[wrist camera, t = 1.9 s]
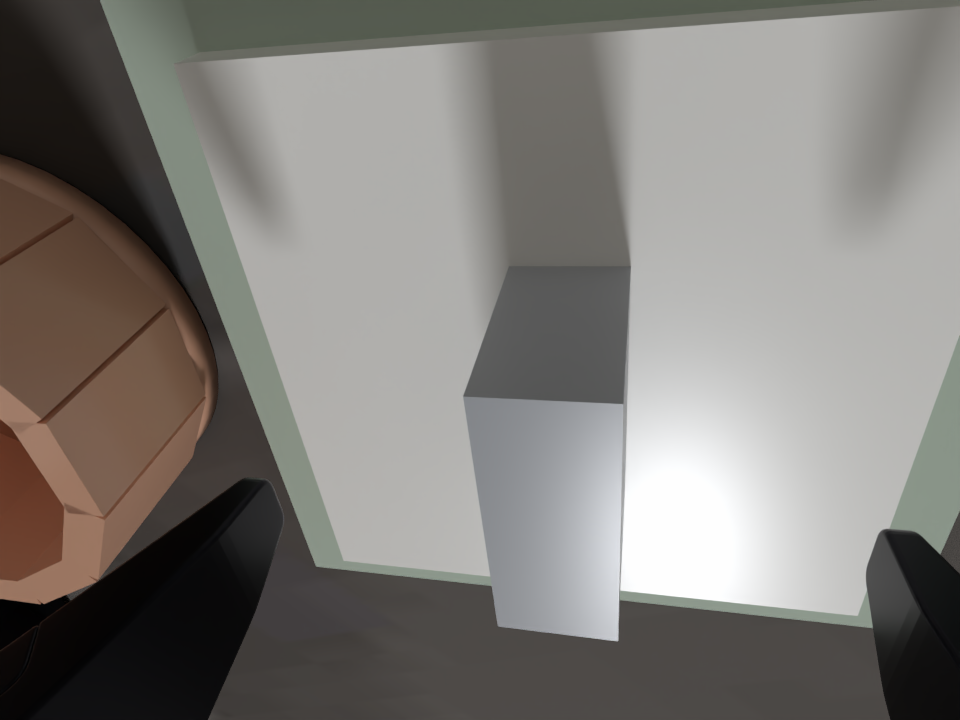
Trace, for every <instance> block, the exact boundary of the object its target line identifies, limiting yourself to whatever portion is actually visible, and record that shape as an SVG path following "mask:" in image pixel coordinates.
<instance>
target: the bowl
mask: <svg viewBox="0 0 960 720" xmlns="http://www.w3.org/2000/svg"><path fill="white" fill-rule="evenodd" d="M217 397H218V372H217V367H216V362H215V356H214V352H213V349H212V346H211V343H210V340H209V337H208V334H207V332H206V330H205V328H204V325H203V323H202V321H201V319H200V317H199V315H198V313H197V311H196V309H195V307H194V306H193V304H192V302H191V301H190V299H189V298H188V296H187V294H186V293H185V291H184V289H183V288H182V287H181V285H180V284H179V283H178V281H177V280H176V279H175V277H174V276H173V275H172V273H171V272H170V270H169V269H168V268H167V266H166V265H165V264H164V263H163V262H162V261H161V260H160V259H159V258H158V256H157V255H156V254H155V253H154V252H153V251H152V250H151V249H150V247H149V246H148V245H147V244H146V243H145V242H144V241H143V240H142V239H140V238H139V237H138V236H137V235H136V234H135V233H134V232H133V231H132V230H131V229H130V228H129V227H128V226H127V225H126V224H125V223H123V222H122V221H121V220H120V219H118V218H117V217H116V216H114V215H113V214H112V213H111V212H109V211H108V210H107V209H106V208H104V207H103V206H102V205H101V204H99V203H98V202H96V201H95V200H93V199H92V198H90V197H89V196H87V195H86V194H84V193H83V192H81V191H80V190H78V189H77V188H75V187H74V186H72V185H70V184H68V183H66V182H64V181H63V180H61V179H59V178H57V177H55V176H53V175H52V174H50V173H48V172H46V171H44V170H41V169H39V168H37V167H34V166H32V165H29V164H27V163H25V162H22V161H20V160H17V159H14V158H11V157H7V156H4V155H1V154H0V599H6V600H13V601H20V602H28V603H35V604H41V603H43V604H45V603H48V602H50V601H52V600H55V599H57V598H60V597H62V596H64V595H67V594H69V593H71V592H74V591H76V590H79V589H81V588H83V587H86V586H88V585H90V584H93V583H95V582H97V581H98V580H99V578H100V577H101V576H102V574H103V573H104V572H105V570H106V569H107V568H108V567H109V565H110V564H111V563H112V561H113V560H114V559H115V557H116V556H117V555H118V554H119V552H120V551H121V550H122V548H123V547H124V546H125V544H126V543H127V542H128V540H129V539H130V538H131V537H132V535H133V534H134V533H135V531H136V530H137V529H138V527H139V526H140V525H141V524H142V522H143V521H144V520H145V518H146V517H147V516H148V514H149V513H150V512H151V511H152V509H153V508H154V507H155V505H156V504H157V503H158V501H159V500H160V499H161V497H162V496H163V495H164V494H165V492H166V491H167V490H168V488H169V487H170V486H171V484H172V483H173V482H174V481H175V479H176V478H177V477H178V475H179V474H180V473H181V471H182V470H183V469H184V467H185V466H186V465H187V464H188V462H189V461H190V460H191V458H192V457H193V453H194V449H195V444H196V442H197V441H198V440H199V438H200V437H201V436H202V435H203V433H204V432H205V430H206V428H207V427H208V425H209V424H210V422H211V420H212V417H213V414H214V411H215V409H216V404H217Z"/></svg>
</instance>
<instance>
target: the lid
mask: <svg viewBox="0 0 960 720" xmlns="http://www.w3.org/2000/svg"><path fill="white" fill-rule="evenodd" d="M173 65H174V68H175V70H176V73H177V76H178V79H179V82H180V85H181V88H182V91H183V94H184V97H185V100H186V103H187V105H188V108H189V111H190V114H191V117H192V120H193V123H194V126H195V129H196V132H197V135H198V138H199V140H200V143H201V146H202V149H203V152H204V155H205V158H206V161H207V164H208V167H209V170H210V173H211V175H212V178H213V181H214V184H215V187H216V190H217V193H218V196H219V199H220V202H221V205H222V208H223V211H224V213H225V216H226V219H227V222H228V225H229V228H230V231H231V234H232V237H233V240H234V243H235V246H236V248H237V251H238V254H239V257H240V260H241V263H242V266H243V269H244V272H245V275H246V278H247V281H248V283H249V286H250V289H251V292H252V295H253V298H254V301H255V304H256V307H257V310H258V313H259V316H260V318H261V321H262V324H263V327H264V330H265V333H266V336H267V339H268V342H269V345H270V348H271V351H272V353H273V356H274V359H275V362H276V365H277V368H278V371H279V374H280V377H281V380H282V383H283V386H284V388H285V391H286V394H287V397H288V400H289V403H290V406H291V409H292V412H293V415H294V418H295V421H296V423H297V426H298V429H299V432H300V435H301V438H302V441H303V444H304V447H305V450H306V453H307V456H308V459H309V461H310V464H311V467H312V470H313V473H314V476H315V479H316V482H317V485H318V488H319V491H320V494H321V496H322V499H323V502H324V505H325V508H326V511H327V514H328V517H329V520H330V523H331V526H332V529H333V531H334V534H335V537H336V540H337V543H338V546H339V549H340V552H341V555H342V558H343V561H349V562H359V563H368V564H377V565H387V566H396V567H405V568H415V569H424V570H433V571H443V572H452V573H461V574H470V575H480V576H489V577H491V584H492V590H493V597H494V604H495V610H496V617H497V623H498V626H499V627H507V628H515V629H523V630H531V631H539V632H547V633H555V634H563V635H571V636H579V637H588V638H596V639H604V640H612V641H618V632H619V610H620V591H629V592H638V593H647V594H657V595H666V596H675V597H685V598H694V599H703V600H713V601H722V602H731V603H741V604H750V605H759V606H768V607H778V608H787V609H796V610H806V611H815V612H824V613H834V614H843V615H852V616H858V614H859V611H860V608H861V605H862V603H863V600H864V597H865V594H866V592H867V587H866V568H867V564H868V562H869V559H870V556H871V553H872V550H873V547H874V544H875V542H876V539H877V536H878V534H879V532H880V531H881V530H883V529H889V528H890V526H891V523H892V520H893V517H894V515H895V512H896V509H897V506H898V503H899V501H900V498H901V495H902V492H903V490H904V487H905V484H906V481H907V479H908V476H909V473H910V470H911V468H912V465H913V462H914V459H915V457H916V454H917V451H918V448H919V446H920V443H921V440H922V437H923V435H924V432H925V429H926V426H927V424H928V421H929V418H930V415H931V413H932V410H933V407H934V404H935V402H936V399H937V396H938V393H939V391H940V388H941V385H942V382H943V380H944V377H945V374H946V371H947V368H948V366H949V363H950V360H951V357H952V355H953V352H954V349H955V346H956V344H957V341H958V338H959V335H960V0H871V1H858V2H845V3H832V4H819V5H806V6H793V7H780V8H767V9H754V10H741V11H728V12H715V13H702V14H689V15H676V16H663V17H650V18H637V19H624V20H611V21H598V22H585V23H572V24H559V25H546V26H533V27H520V28H507V29H494V30H481V31H468V32H455V33H442V34H429V35H416V36H403V37H390V38H377V39H364V40H351V41H338V42H325V43H312V44H299V45H286V46H273V47H260V48H247V49H234V50H221V51H208V52H199V53H197V54H195V55H192V56H190V57H188V58H186V59H183V60H181V61H179V62H176V63H174V64H173Z"/></svg>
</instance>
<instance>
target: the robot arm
mask: <svg viewBox="0 0 960 720" xmlns="http://www.w3.org/2000/svg"><path fill="white" fill-rule="evenodd" d="M283 524H284V514H283V510H282V508H281V505H280V503H279V500H278V498H277V495H276V493H275V490H274V487H273V485H272V483H271V482H270V481H269V480H267V479H262V478H244V479H242V480H240V481H238V482H237V483H236V484H234V485H233V486H231V487H230V488H228V489H227V490H226V491H224V492H223V493H221V494H220V495H219V496H217V497H216V498H214V499H213V500H212V501H210V502H209V503H207V504H206V505H205V506H203V507H202V508H200V509H199V510H198V511H196V512H195V513H193V514H192V515H191V516H189V517H188V518H186V519H185V520H184V521H182V522H181V523H179V524H178V525H176V526H175V527H174V528H172V529H171V530H169V531H168V532H167V533H165V534H164V535H162V536H161V537H160V538H158V539H157V540H155V541H154V542H153V543H151V544H150V545H148V546H147V547H146V548H144V549H143V550H141V551H140V552H139V553H137V554H136V555H134V556H133V557H132V558H130V559H129V560H127V561H126V562H125V563H123V564H122V565H120V566H119V567H117V568H116V569H115V570H113V571H112V572H110V573H109V574H108V575H106V576H105V577H103V578H102V579H101V580H99V581H98V582H96V583H95V584H94V585H92V586H91V587H89V588H88V589H87V590H85V591H84V592H82V593H81V594H80V595H78V596H77V597H75V598H74V599H73V600H71V601H70V602H68V603H67V604H65V603H64V602H63V601H62V599H61V598H57V599H55V600H52V601H50V602H48V603H45V604H43V603H41V604H35V603H28V602H20V601H13V600H6V599H0V720H208V718H209V716H210V714H211V711H212V709H213V707H214V705H215V702H216V700H217V698H218V696H219V693H220V691H221V689H222V687H223V684H224V682H225V680H226V677H227V675H228V673H229V671H230V668H231V666H232V664H233V662H234V659H235V657H236V655H237V653H238V650H239V648H240V646H241V644H242V641H243V639H244V637H245V635H246V632H247V630H248V628H249V625H250V623H251V621H252V618H253V616H254V613H255V611H256V608H257V605H258V602H259V600H260V597H261V593H262V590H263V587H264V584H265V581H266V578H267V575H268V572H269V569H270V566H271V563H272V560H273V556H274V553H275V550H276V547H277V544H278V541H279V538H280V535H281V532H282V528H283ZM866 587H867V593H868V599H869V606H870V612H871V618H872V625H873V631H874V637H875V644H876V650H877V656H878V663H879V669H880V676H881V681H882V687H883V692H884V697H885V701H886V705H887V709H888V713H889V716H890V720H960V574H959V573H958V572H957V571H956V570H955V569H954V568H953V567H952V566H951V565H950V564H949V563H948V562H947V561H946V560H945V559H944V558H943V557H942V556H941V555H940V554H939V553H938V552H937V551H936V550H935V549H934V548H933V547H932V546H931V545H930V544H929V543H928V542H927V541H926V540H925V539H924V538H923V537H922V536H921V535H920V534H918V533H916V532H914V531H910V530H898V529H883V530H881V531H880V532H879V534H878V536H877V539H876V542H875V544H874V547H873V550H872V553H871V556H870V559H869V562H868V564H867V568H866Z"/></svg>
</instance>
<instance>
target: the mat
mask: <svg viewBox="0 0 960 720" xmlns="http://www.w3.org/2000/svg"><path fill="white" fill-rule="evenodd" d="M858 1H871V0H100V2H101V4H102V7H103V10H104V12H105V15H106V17H107V20H108V23H109V25H110V28H111V30H112V33H113V36H114V38H115V41H116V44H117V46H118V49H119V51H120V54H121V57H122V59H123V62H124V65H125V67H126V70H127V72H128V75H129V78H130V80H131V83H132V85H133V88H134V91H135V93H136V96H137V99H138V101H139V104H140V106H141V109H142V112H143V114H144V117H145V120H146V122H147V125H148V127H149V130H150V133H151V135H152V138H153V140H154V143H155V146H156V148H157V151H158V154H159V156H160V159H161V161H162V164H163V167H164V169H165V172H166V175H167V177H168V180H169V182H170V185H171V188H172V190H173V193H174V195H175V198H176V201H177V203H178V206H179V209H180V211H181V214H182V216H183V219H184V222H185V224H186V227H187V230H188V232H189V235H190V237H191V240H192V243H193V245H194V248H195V250H196V253H197V256H198V258H199V261H200V264H201V266H202V269H203V271H204V274H205V277H206V279H207V282H208V285H209V287H210V290H211V292H212V295H213V298H214V300H215V303H216V305H217V308H218V311H219V313H220V316H221V319H222V321H223V324H224V326H225V329H226V332H227V334H228V337H229V340H230V342H231V345H232V347H233V350H234V353H235V355H236V358H237V360H238V363H239V366H240V368H241V371H242V374H243V376H244V379H245V381H246V384H247V387H248V389H249V392H250V395H251V397H252V400H253V402H254V405H255V408H256V410H257V413H258V415H259V418H260V421H261V423H262V426H263V429H264V431H265V434H266V436H267V439H268V442H269V444H270V447H271V450H272V452H273V455H274V457H275V460H276V463H277V465H278V468H279V470H280V473H281V476H282V478H283V481H284V484H285V486H286V489H287V491H288V494H289V497H290V499H291V502H292V505H293V507H294V510H295V512H296V515H297V518H298V520H299V523H300V525H301V528H302V531H303V533H304V536H305V539H306V541H307V544H308V546H309V549H310V552H311V554H312V557H313V560H314V562H315V565H316V567H325V568H334V569H343V570H352V571H362V572H371V573H380V574H389V575H398V576H407V577H416V578H425V579H434V580H443V581H452V582H461V583H470V584H479V585H488V586H492V584H491V577H489V576H480V575H470V574H461V573H452V572H443V571H433V570H424V569H415V568H405V567H396V566H387V565H377V564H368V563H359V562H349V561H343V558H342V555H341V552H340V549H339V546H338V543H337V540H336V537H335V534H334V531H333V529H332V526H331V523H330V520H329V517H328V514H327V511H326V508H325V505H324V502H323V499H322V496H321V494H320V491H319V488H318V485H317V482H316V479H315V476H314V473H313V470H312V467H311V464H310V461H309V459H308V456H307V453H306V450H305V447H304V444H303V441H302V438H301V435H300V432H299V429H298V426H297V423H296V421H295V418H294V415H293V412H292V409H291V406H290V403H289V400H288V397H287V394H286V391H285V388H284V386H283V383H282V380H281V377H280V374H279V371H278V368H277V365H276V362H275V359H274V356H273V353H272V351H271V348H270V345H269V342H268V339H267V336H266V333H265V330H264V327H263V324H262V321H261V318H260V316H259V313H258V310H257V307H256V304H255V301H254V298H253V295H252V292H251V289H250V286H249V283H248V281H247V278H246V275H245V272H244V269H243V266H242V263H241V260H240V257H239V254H238V251H237V248H236V246H235V243H234V240H233V237H232V234H231V231H230V228H229V225H228V222H227V219H226V216H225V213H224V211H223V208H222V205H221V202H220V199H219V196H218V193H217V190H216V187H215V184H214V181H213V178H212V175H211V173H210V170H209V167H208V164H207V161H206V158H205V155H204V152H203V149H202V146H201V143H200V140H199V138H198V135H197V132H196V129H195V126H194V123H193V120H192V117H191V114H190V111H189V108H188V105H187V103H186V100H185V97H184V94H183V91H182V88H181V85H180V82H179V79H178V76H177V73H176V70H175V68H174V65H173V64H174V63H176V62H179V61H181V60H183V59H186V58H188V57H190V56H192V55H195V54H197V53H199V52H208V51H221V50H234V49H247V48H260V47H273V46H286V45H299V44H312V43H325V42H338V41H351V40H364V39H377V38H390V37H403V36H416V35H429V34H442V33H455V32H468V31H481V30H494V29H507V28H520V27H533V26H546V25H559V24H572V23H585V22H598V21H611V20H624V19H637V18H650V17H663V16H676V15H689V14H702V13H715V12H728V11H741V10H754V9H767V8H780V7H793V6H806V5H819V4H832V3H845V2H858ZM959 511H960V335H959V338H958V341H957V344H956V346H955V349H954V352H953V355H952V357H951V360H950V363H949V366H948V368H947V371H946V374H945V377H944V380H943V382H942V385H941V388H940V391H939V393H938V396H937V399H936V402H935V404H934V407H933V410H932V413H931V415H930V418H929V421H928V424H927V426H926V429H925V432H924V435H923V437H922V440H921V443H920V446H919V448H918V451H917V454H916V457H915V459H914V462H913V465H912V468H911V470H910V473H909V476H908V479H907V481H906V484H905V487H904V490H903V492H902V495H901V498H900V501H899V503H898V506H897V509H896V512H895V515H894V517H893V520H892V523H891V526H890V528H889V529H898V530H910V531H914V532H916V533H918V534H920V535H921V536H922V537H923V538H924V539H925V540H926V541H927V542H928V543H929V544H930V545H931V546H932V547H933V548H934V549H935V550H936V551H937V552H938V553H939V554H941V552H942V549H943V547H944V545H945V543H946V540H947V538H948V536H949V534H950V531H951V529H952V527H953V524H954V522H955V520H956V518H957V515H958V513H959ZM620 600H624V601H633V602H642V603H651V604H660V605H669V606H678V607H688V608H697V609H706V610H715V611H724V612H733V613H742V614H751V615H760V616H769V617H778V618H787V619H796V620H805V621H814V622H823V623H832V624H841V625H851V626H860V627H869V628H873V625H872V618H871V612H870V606H869V599H868V593H867V592H866V594H865V597H864V600H863V603H862V605H861V608H860V611H859V614H858V616H852V615H843V614H834V613H824V612H815V611H806V610H796V609H787V608H778V607H768V606H759V605H750V604H741V603H731V602H722V601H713V600H703V599H694V598H685V597H675V596H666V595H657V594H647V593H638V592H629V591H620Z"/></svg>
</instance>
